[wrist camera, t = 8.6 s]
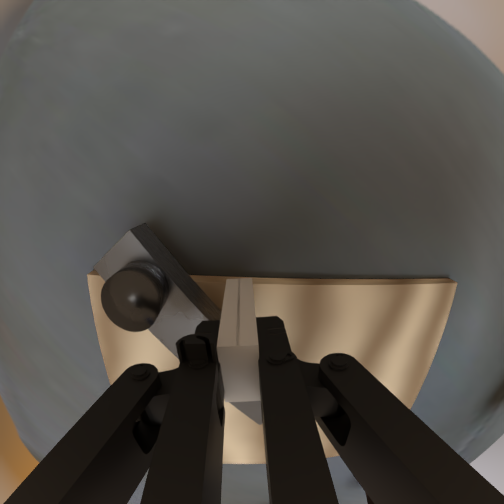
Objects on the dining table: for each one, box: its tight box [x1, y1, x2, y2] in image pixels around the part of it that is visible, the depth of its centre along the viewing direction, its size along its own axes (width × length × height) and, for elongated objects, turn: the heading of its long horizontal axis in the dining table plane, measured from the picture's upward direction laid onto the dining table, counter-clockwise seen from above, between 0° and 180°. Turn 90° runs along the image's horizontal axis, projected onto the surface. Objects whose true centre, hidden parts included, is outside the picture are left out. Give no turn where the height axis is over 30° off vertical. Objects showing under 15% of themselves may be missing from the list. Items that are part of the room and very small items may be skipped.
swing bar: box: [94, 223, 262, 425], centre depth 14 cm, size 14×3×4 cm, turn 38°
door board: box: [87, 270, 457, 464], centre depth 17 cm, size 28×20×7 cm
